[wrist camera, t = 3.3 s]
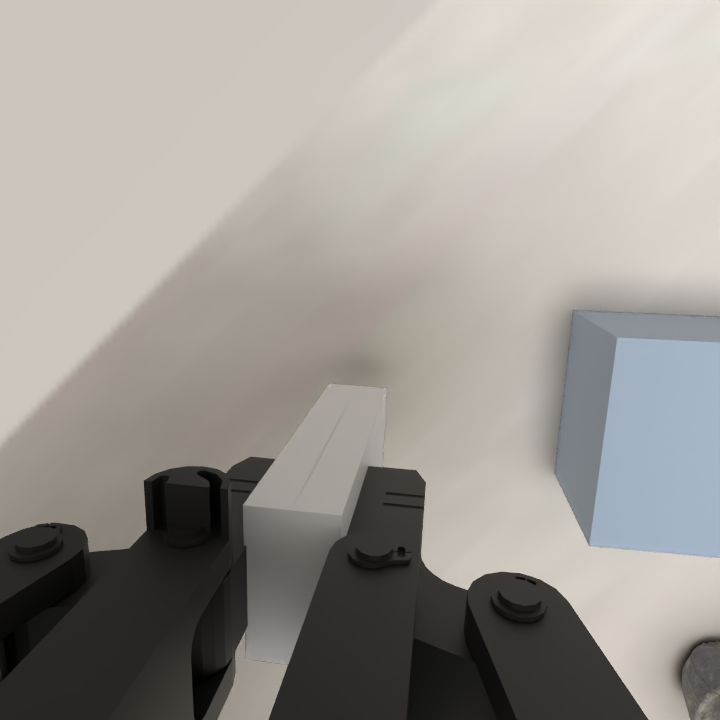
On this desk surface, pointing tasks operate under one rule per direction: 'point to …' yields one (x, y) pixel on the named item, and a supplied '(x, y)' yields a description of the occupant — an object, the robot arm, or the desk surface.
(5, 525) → the desk surface
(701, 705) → the stone
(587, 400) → the block
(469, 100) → the desk surface
